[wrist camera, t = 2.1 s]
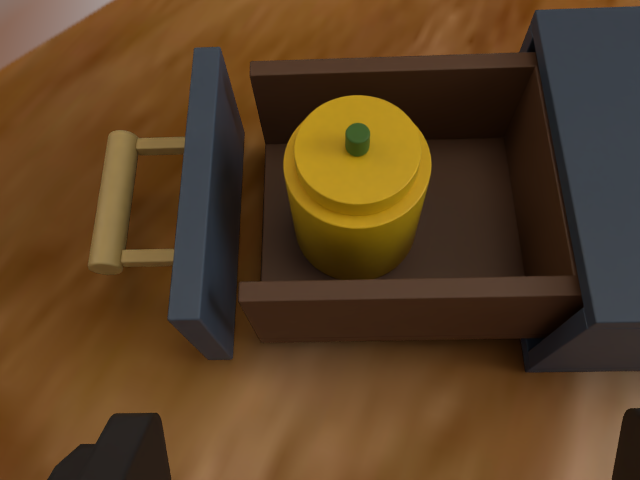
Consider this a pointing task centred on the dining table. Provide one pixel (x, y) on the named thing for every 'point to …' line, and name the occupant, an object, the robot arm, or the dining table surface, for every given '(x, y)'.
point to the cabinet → (594, 180)
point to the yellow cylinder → (356, 186)
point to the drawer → (433, 227)
